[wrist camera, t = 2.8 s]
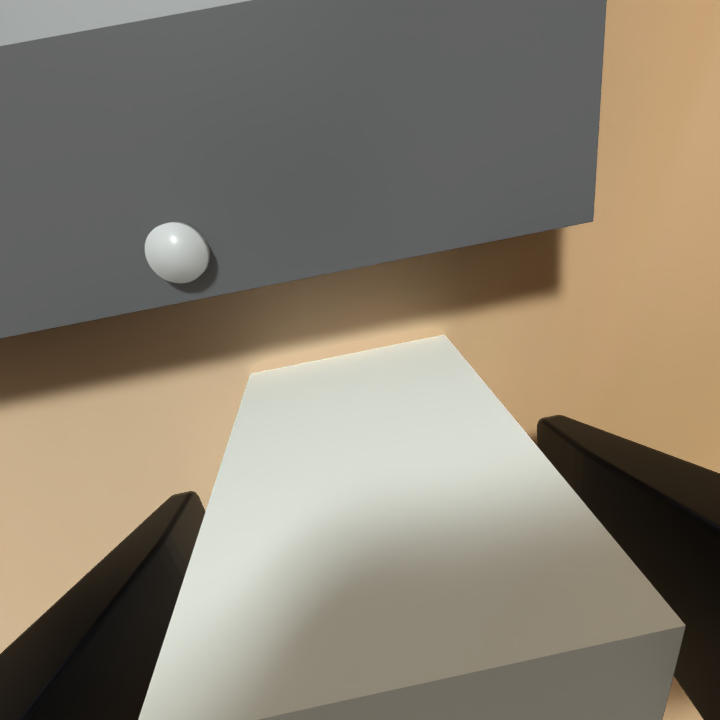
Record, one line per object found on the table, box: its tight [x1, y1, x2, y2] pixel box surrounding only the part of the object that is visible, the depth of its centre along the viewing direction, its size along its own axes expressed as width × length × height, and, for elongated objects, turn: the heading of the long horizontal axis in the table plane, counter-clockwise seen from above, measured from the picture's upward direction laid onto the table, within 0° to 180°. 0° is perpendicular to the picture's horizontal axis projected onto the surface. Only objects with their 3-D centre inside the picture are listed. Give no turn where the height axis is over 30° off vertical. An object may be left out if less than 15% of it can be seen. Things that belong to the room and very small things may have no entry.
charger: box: [138, 335, 686, 720], centre depth 6 cm, size 4×4×6 cm
